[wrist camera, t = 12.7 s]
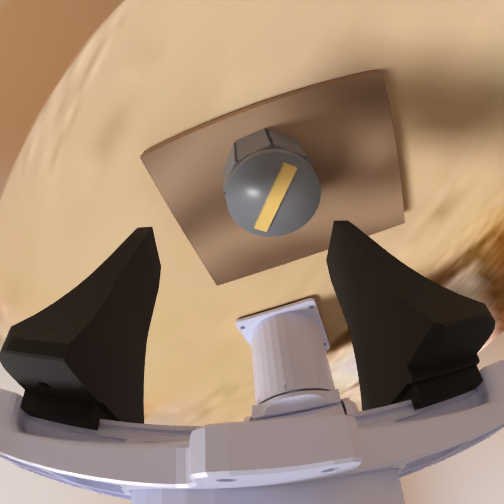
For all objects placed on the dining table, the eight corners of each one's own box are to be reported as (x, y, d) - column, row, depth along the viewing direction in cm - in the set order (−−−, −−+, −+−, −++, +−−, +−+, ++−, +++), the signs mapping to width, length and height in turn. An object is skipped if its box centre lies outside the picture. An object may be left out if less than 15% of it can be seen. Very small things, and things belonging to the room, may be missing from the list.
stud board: (398, 214, 23) (420, 244, 20) (217, 275, 26) (216, 311, 23) (373, 70, 16) (403, 78, 13) (144, 151, 19) (127, 175, 16)
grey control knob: (242, 119, 17) (246, 140, 14) (317, 147, 18) (338, 174, 15) (216, 190, 20) (213, 225, 16) (285, 211, 21) (297, 248, 18)
